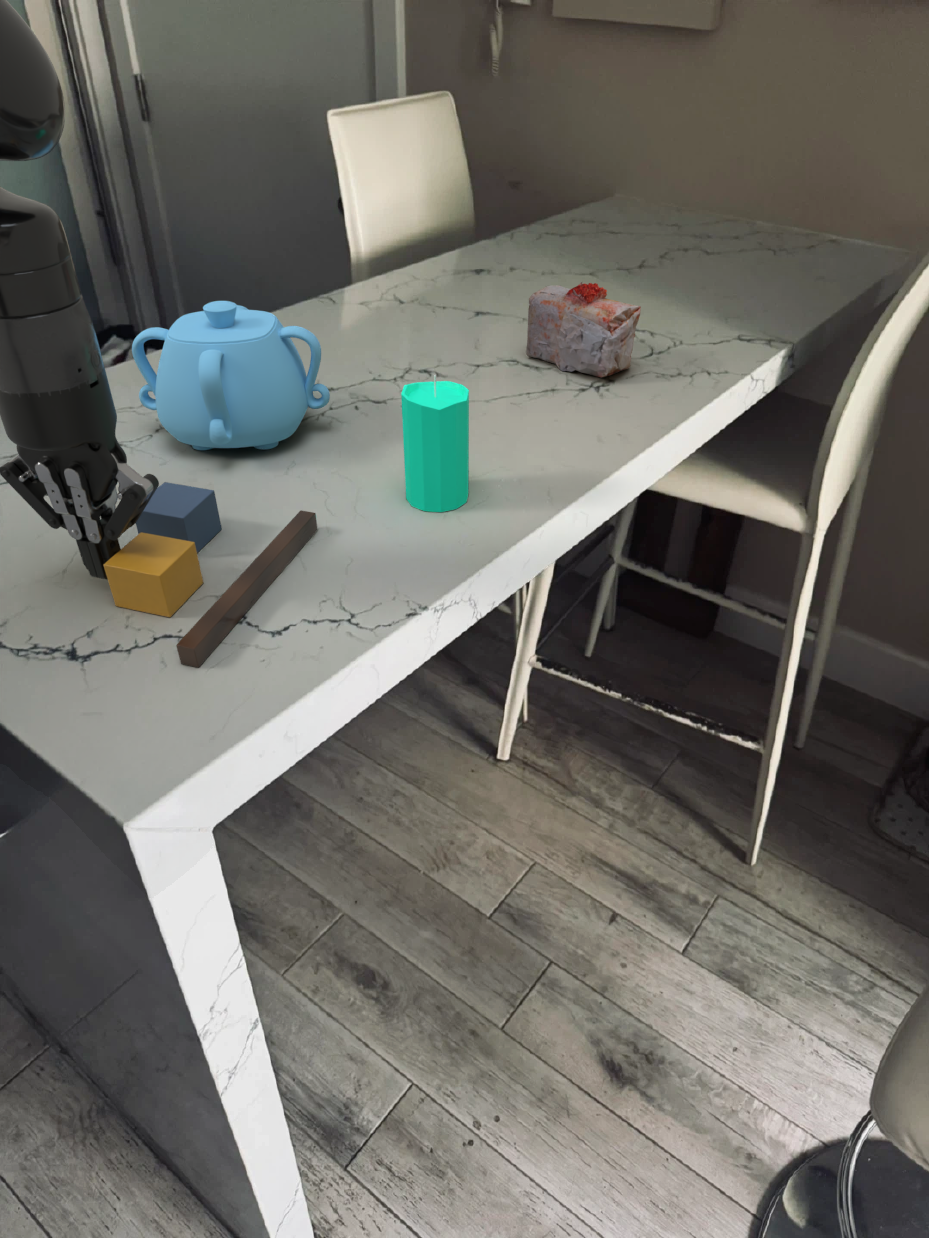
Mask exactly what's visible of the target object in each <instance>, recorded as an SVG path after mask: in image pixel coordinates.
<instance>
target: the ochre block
mask: <svg viewBox="0 0 929 1238" xmlns="http://www.w3.org/2000/svg"><path fill="white" fill-rule="evenodd" d="M104 569H105V572H106V575H107V579H108V580H107V583H108V585H109V588H110V592H111V595H112V598H113V602H114V606H115V607H119V608H123V609H127V610H131V611H132V610H133V611H137V612H142V613H147V614H152V615H156V616H162V617H166V618H171V617H172V616H173V615H174V614H175V613H176V612H177V611H178V610H179V609H180V608H181V607H182V606H183V605H184V604H185V603H186V601H188V600H189V599H190V597H192V596H193V594H194V593H195V592H196V591H197V590H198V589H199V588H200V587H201V586H202V585H203V584H204V580H203V579H204V578H203V574H202V569H201V565H200V559H199V556H198V553H197V551H196V546H195V542H191V541H186V540H180V539H175V538H169V537H164V536H159V535H153V534H148V533H142V532H141V533H139V534H138V533H137V535H136V536H135V537H133V538H132V539H131V540H130V541H129V542H128V543H126V544H125V545H124V546H123V547H122V548H121V550H120V551H119V552H117V553H116V554H115V555H114V556H113V557H112V558H110V559H109V560H108V561H107V562H106V563H105V564H104Z"/></svg>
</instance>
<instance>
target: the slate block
mask: <svg viewBox="0 0 929 1238" xmlns="http://www.w3.org/2000/svg"><path fill="white" fill-rule="evenodd" d="M135 526H136V531H137V535H138V534H139V533H141V532H142V533H148V534H153V535H159V536H164V537H169V538H175V539H180V540H186V541H191V542H195V546H196V551H197V554H198V553H199V552H200V551H201V550H202V549H203V548H204V547H205V546H206V545H207V544H208V543H209V542H210V541H211V540H212V539H214V537H216V536H217V534H218V533H220V532H221V531H222V529H223V527H222V524H221V517H220V513H219V507H218V502H217V498H216V493H215V490H214V489H210V488H209V489H208V488H203V487H196V486H191V485H185V484H179V483H173V482H168V481H164V482H163V483H162V484H161V485H159V486H158V488H157V489H156V491H155V493H154V494H153V496H152V497H151V499H150V501H149V502H148V504H147V506H146V507H145V509H144V510H143V512H142V514H141V515H140V517H139V519H138V520H137V522H136V523H135Z"/></svg>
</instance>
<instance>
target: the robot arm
mask: <svg viewBox="0 0 929 1238" xmlns="http://www.w3.org/2000/svg"><path fill="white" fill-rule="evenodd" d="M65 121H66V106H65V97H64V93H63V88H62V85H61V81H60V78H59V75H58V73H57V71H56V69H55V67H54V64H53V62H52V60H51V58H50V56H49V54H48V53H47V51H46V49H45V48H44V46H43V44H42V43H41V41H40V40H39V38H38V37H37V35H36V34H35V31H33V30H32V28H31V27H30V26H29V24H28V23H27V22H26V21H25V20H24V18H23V17H22V16H21V15H20V13H19V12H18V11H17V10H16V9H15V8H14V7H13V5H12V4H11V3H10V2H9V1H8V0H0V162H27V161H32V160H38V159H41V158H43V157H45V156H47V155H49V154H50V153H51V152H52V151H53V150H54V149H55V148H56V146H57V145H58V144H59V142H60V140H61V139H62V135H63V131H64V129H65ZM0 419H1V422H2V426H3V428H4V431H5V434H6V436H7V438H8V439H9V441H11V442H12V443H13V444H15V445H16V453H17V455H16V456H14V457H13V458H12V459H10V460H9V461H7V462H5V463H4V464H2V465H0V476H1V477H2V478H3V479H4V480H5V481H6V482H7V484H8V485H10V487H11V488H12V489H13V490H14V491H15V492H16V493H17V494H18V495H19V496H20V497H21V498H22V499H23V500H24V501H25V502H26V503H27V505H29V506H30V507H31V509H33V511H34V512H36V514H38V516H39V517H41V519H42V520H43V521H44V522H45V523H46V524H47V525H48V526H49V527H50V528H52V529H54V530H58V529H59V528H62V529H64V530H66V531H67V533H68V535H69V536H70V537H71V538H72V539H73V540H75V542H76V545H77V548H78V551H79V554H80V558H81V561H82V564H83V566H84V568H85V569H86V570H87V571H88V573H89V576H90V577H92V578H97V579H102V580H106V581H108V579H107V575H106V572H105V569H104V564H105V563H106V562H107V561H108V560H109V559H110V558H112V557H113V556H114V555H115V554H116V553H117V552H119V551H120V550H121V549H122V548H121V545H120V542H119V538H120V537H121V536H122V535H123V534H124V533H125V532H126V531H128V529H130V528H132V527H133V526H135V525H136V522H137V520H138V519H139V517H140V515H141V514H142V512H143V510H144V509H145V507H146V506H147V504H148V502H149V501H150V499H151V497H152V496H153V494H154V493H155V491H156V489H157V488H158V487H159V486H160V481H159V478H158V477H156V476H155V475H154V474H152V473H147V474H145V475H144V476H143V475H141V474H140V473H138V472H137V471H136V470H135V469H134V468H132V467H131V466H130V465H129V464H128V457H127V454H126V452H125V450H124V449H123V447H122V446H121V444H120V443H119V441H118V439H117V436H116V430H117V429H116V428H117V421H118V415H117V410H116V406H115V402H114V399H113V395H112V391H111V386H110V383H109V380H108V375H107V371H106V366H105V363H104V360H103V356H102V353H101V348H100V344H99V340H98V336H97V333H96V330H95V326H94V323H93V321H92V318H91V315H90V313H89V311H88V308H87V306H86V303H85V300H84V297H83V294H82V290H81V287H80V282H79V278H78V274H77V271H76V267H75V263H74V260H73V255H72V252H71V247H70V243H69V240H68V236H67V233H66V229H65V227H64V224H63V222H62V219H61V218H60V216H59V215H58V212H56V210H54V209H53V208H52V207H51V206H49V205H48V204H46V203H43V202H40V201H38V200H36V199H33V198H29V197H26V196H23V195H19V194H16V193H14V192H11V191H9V190H7V189H5V188H4V187H2V186H1V185H0ZM117 484H118V488H117ZM117 490H118V491H117ZM46 496H47V497H48V499H49V500H50V501H49V502H50V504H51V505H50V504H49V502H47V500H45V497H46ZM118 499H119V502H118ZM117 502H118V505H117ZM116 505H117V506H116Z"/></svg>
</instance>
